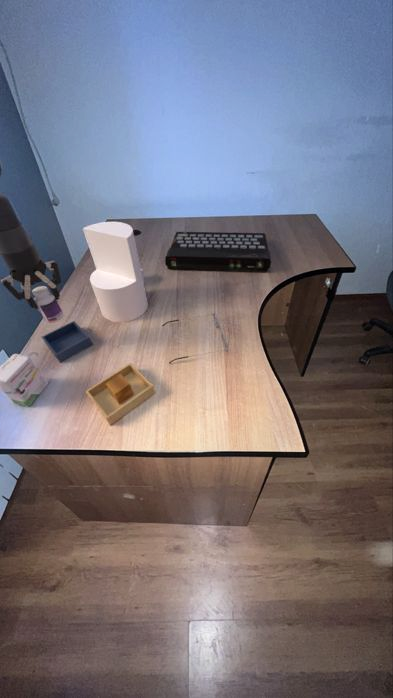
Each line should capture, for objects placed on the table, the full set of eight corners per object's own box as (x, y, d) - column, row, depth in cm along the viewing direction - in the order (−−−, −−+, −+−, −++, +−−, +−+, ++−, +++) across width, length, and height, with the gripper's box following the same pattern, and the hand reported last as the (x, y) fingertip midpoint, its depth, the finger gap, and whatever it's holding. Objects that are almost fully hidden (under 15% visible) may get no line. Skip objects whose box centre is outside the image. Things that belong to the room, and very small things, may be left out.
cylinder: (121, 289, 108) (101, 218, 88) (156, 300, 102) (144, 227, 82) (91, 314, 98) (61, 239, 77) (129, 327, 92) (106, 251, 72)
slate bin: (60, 362, 82) (55, 355, 79) (46, 344, 88) (41, 336, 85) (92, 344, 87) (89, 337, 84) (77, 328, 93) (74, 320, 90)
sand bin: (110, 425, 67) (106, 418, 64) (89, 398, 73) (85, 391, 70) (155, 392, 73) (153, 385, 71) (132, 370, 79) (130, 362, 77)
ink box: (29, 408, 71) (4, 382, 63) (14, 403, 72) (-12, 377, 64) (49, 383, 77) (29, 356, 68) (35, 379, 78) (14, 352, 69)
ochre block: (119, 404, 70) (114, 394, 67) (110, 394, 73) (105, 383, 69) (133, 394, 73) (129, 383, 69) (124, 384, 75) (120, 373, 71)
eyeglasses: (229, 354, 82) (229, 345, 79) (169, 365, 81) (167, 356, 78) (214, 317, 94) (214, 308, 92) (162, 326, 93) (160, 318, 90)
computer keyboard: (264, 243, 132) (266, 230, 128) (269, 273, 113) (271, 258, 109) (176, 241, 137) (174, 228, 132) (166, 270, 118) (164, 256, 113)
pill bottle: (67, 313, 80) (54, 285, 73) (56, 324, 76) (41, 297, 69) (52, 310, 81) (37, 283, 74) (41, 321, 78) (24, 294, 70)
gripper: (39, 231, 68) (65, 287, 80) (-23, 250, 61) (15, 308, 74) (51, 240, 64) (76, 297, 76) (-14, 261, 57) (25, 320, 70)
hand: (46, 302), depth 75 cm, fingers closed on pill bottle, 5 cm apart
